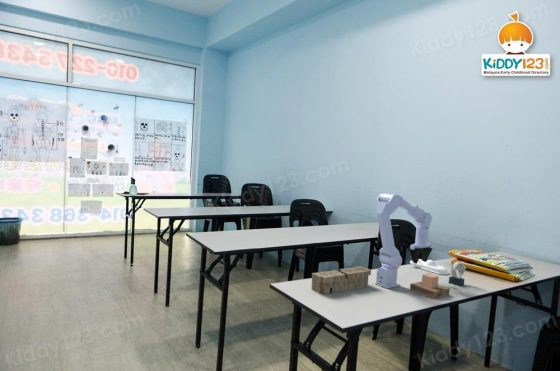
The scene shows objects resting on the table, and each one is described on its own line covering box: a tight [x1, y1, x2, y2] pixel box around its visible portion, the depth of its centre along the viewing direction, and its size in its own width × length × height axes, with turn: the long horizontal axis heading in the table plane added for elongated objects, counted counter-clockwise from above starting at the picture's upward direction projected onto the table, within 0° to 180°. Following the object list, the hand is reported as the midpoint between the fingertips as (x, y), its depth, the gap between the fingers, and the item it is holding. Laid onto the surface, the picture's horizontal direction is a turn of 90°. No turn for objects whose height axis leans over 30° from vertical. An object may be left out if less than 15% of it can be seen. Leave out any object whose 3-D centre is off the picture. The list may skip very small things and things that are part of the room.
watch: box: [448, 261, 467, 287], centre depth 191 cm, size 6×8×11 cm
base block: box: [409, 281, 450, 300], centre depth 176 cm, size 12×12×3 cm
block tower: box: [311, 265, 372, 295], centre depth 176 cm, size 8×8×29 cm
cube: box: [421, 272, 440, 289], centre depth 175 cm, size 5×5×5 cm
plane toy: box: [409, 258, 449, 275], centre depth 215 cm, size 10×20×6 cm, turn 36°
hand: (419, 262), depth 193 cm, fingers open, 7 cm apart
